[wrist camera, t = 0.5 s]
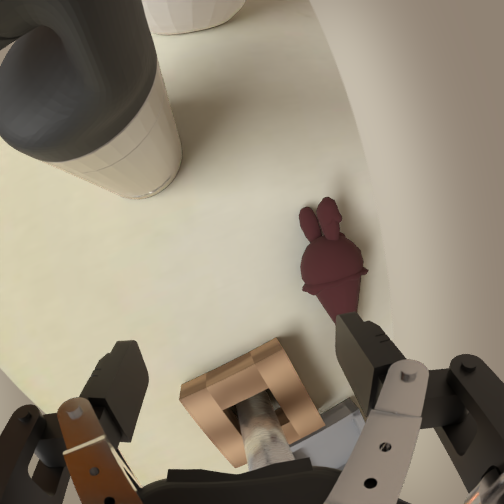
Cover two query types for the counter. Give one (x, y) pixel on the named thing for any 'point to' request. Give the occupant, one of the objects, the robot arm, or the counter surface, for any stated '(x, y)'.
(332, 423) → the tray
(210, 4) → the soap bottle
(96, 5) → the robot arm
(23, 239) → the counter surface
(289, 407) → the hitch block
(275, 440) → the pin
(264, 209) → the counter surface
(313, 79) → the counter surface
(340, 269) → the icecream
